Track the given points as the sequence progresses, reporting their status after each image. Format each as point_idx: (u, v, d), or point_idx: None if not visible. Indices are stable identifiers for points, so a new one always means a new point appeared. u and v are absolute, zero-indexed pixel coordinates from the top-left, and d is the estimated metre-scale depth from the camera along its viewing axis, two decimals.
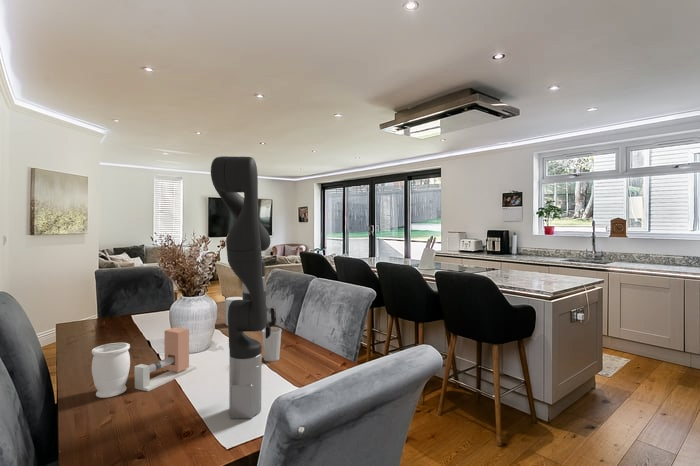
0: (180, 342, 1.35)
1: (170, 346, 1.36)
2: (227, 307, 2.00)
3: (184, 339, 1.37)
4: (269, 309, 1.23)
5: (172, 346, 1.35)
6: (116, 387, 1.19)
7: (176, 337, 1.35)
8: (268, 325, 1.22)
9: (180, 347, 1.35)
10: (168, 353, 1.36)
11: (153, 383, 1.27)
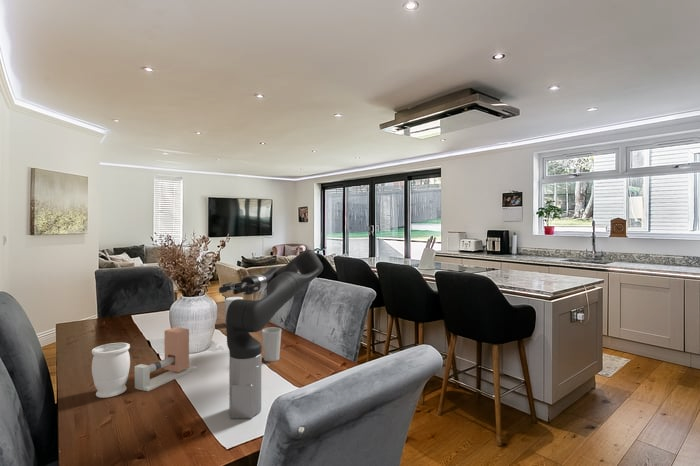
0: (180, 342, 1.35)
1: (170, 346, 1.36)
2: (227, 307, 2.00)
3: (184, 339, 1.37)
4: None
5: (172, 346, 1.35)
6: (116, 387, 1.19)
7: (176, 337, 1.35)
8: (243, 286, 1.43)
9: (180, 347, 1.35)
10: (168, 353, 1.36)
11: (153, 383, 1.27)
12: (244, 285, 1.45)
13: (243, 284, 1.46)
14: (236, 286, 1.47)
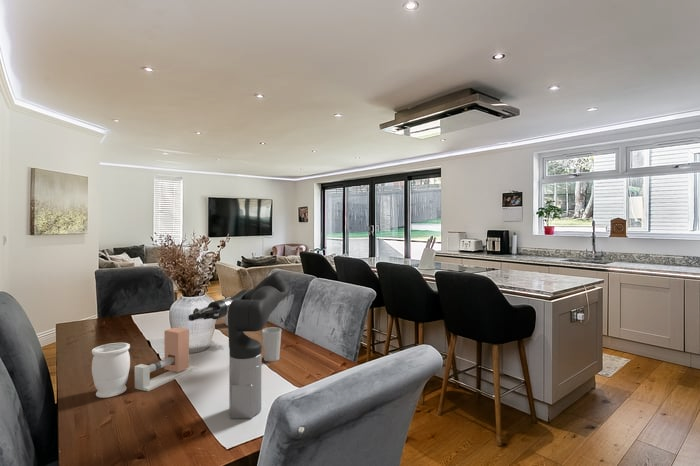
0: (180, 342, 1.35)
1: (170, 346, 1.36)
2: None
3: (184, 339, 1.37)
4: None
5: (172, 346, 1.35)
6: (116, 387, 1.19)
7: (176, 337, 1.35)
8: (200, 312, 1.47)
9: (180, 347, 1.35)
10: (168, 353, 1.36)
11: (153, 383, 1.27)
12: (204, 311, 1.49)
13: (204, 310, 1.49)
14: None
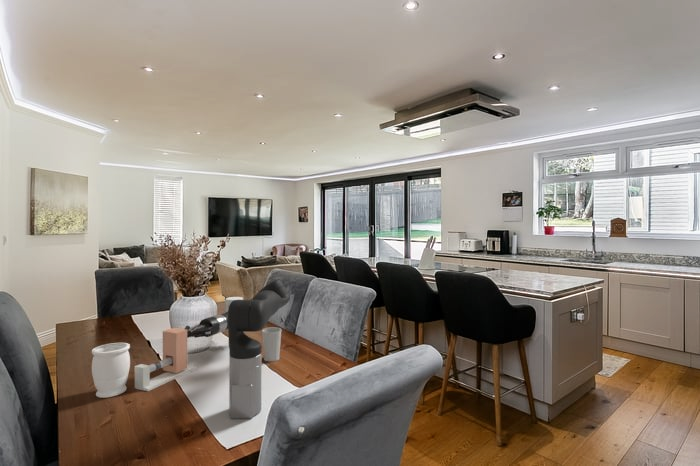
0: (178, 343, 1.35)
1: (169, 347, 1.35)
2: (227, 307, 2.00)
3: (182, 340, 1.36)
4: None
5: (170, 347, 1.35)
6: (116, 387, 1.19)
7: (175, 338, 1.34)
8: (191, 330, 1.43)
9: (178, 348, 1.35)
10: (166, 354, 1.36)
11: (153, 383, 1.27)
12: (195, 329, 1.45)
13: (195, 328, 1.45)
14: None
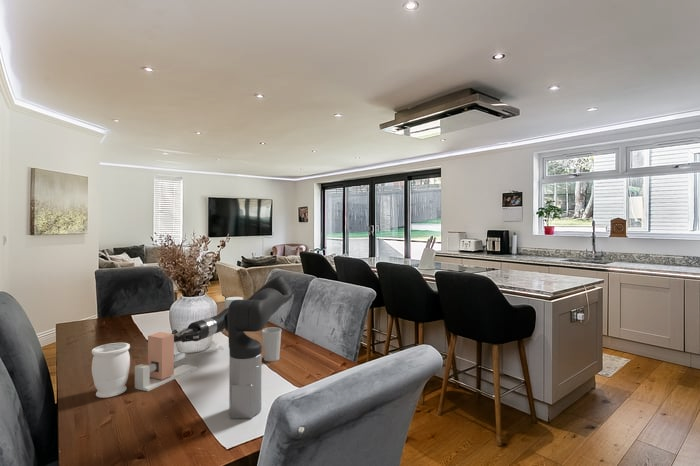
0: (164, 348, 1.29)
1: (154, 352, 1.29)
2: (227, 307, 2.00)
3: (168, 345, 1.31)
4: None
5: (156, 352, 1.29)
6: (116, 387, 1.19)
7: (160, 343, 1.28)
8: (179, 335, 1.38)
9: (164, 353, 1.29)
10: (152, 359, 1.30)
11: (153, 383, 1.27)
12: (183, 333, 1.39)
13: (183, 332, 1.40)
14: None
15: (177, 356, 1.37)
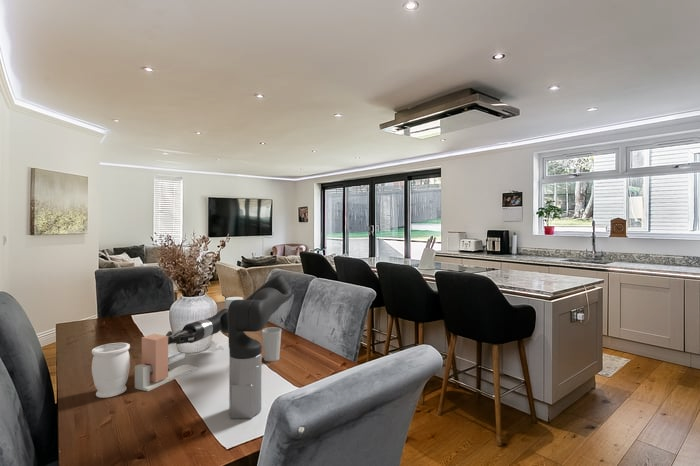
0: (158, 350, 1.27)
1: (148, 355, 1.27)
2: (227, 307, 2.00)
3: (163, 347, 1.28)
4: None
5: (150, 355, 1.27)
6: (116, 387, 1.19)
7: (154, 345, 1.26)
8: (173, 336, 1.35)
9: (158, 355, 1.27)
10: (145, 362, 1.28)
11: (153, 383, 1.27)
12: (177, 335, 1.37)
13: (178, 333, 1.37)
14: None
15: (177, 356, 1.37)
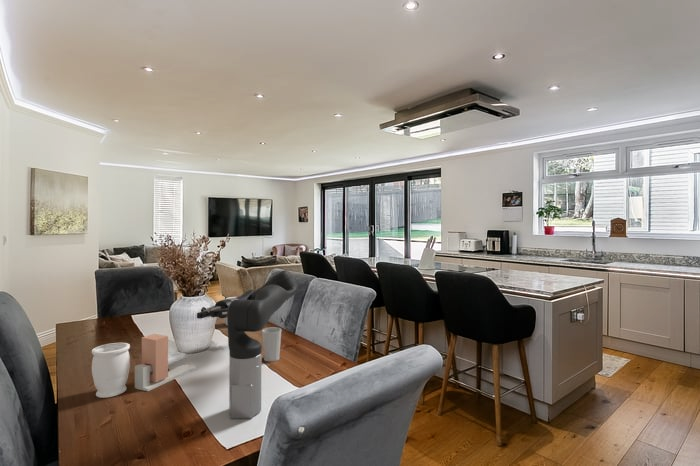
0: (158, 350, 1.27)
1: (148, 355, 1.27)
2: None
3: (163, 347, 1.28)
4: None
5: (150, 355, 1.27)
6: (116, 387, 1.19)
7: (154, 345, 1.26)
8: (209, 310, 1.46)
9: (158, 355, 1.27)
10: (145, 362, 1.28)
11: (153, 383, 1.27)
12: (212, 309, 1.47)
13: (212, 308, 1.48)
14: None
15: (177, 356, 1.37)
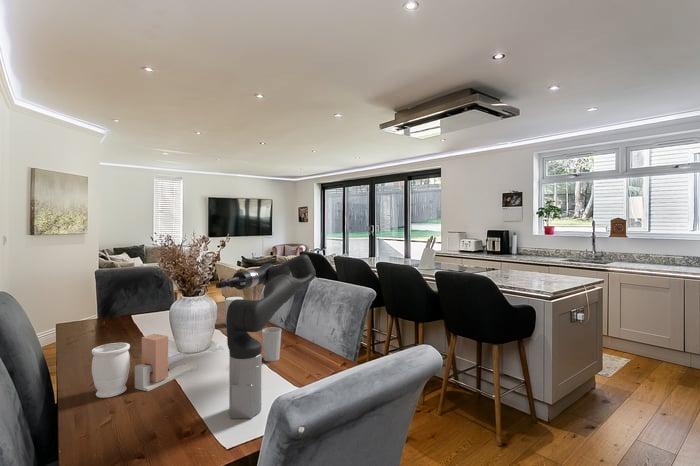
0: (158, 350, 1.27)
1: (148, 355, 1.27)
2: (227, 307, 2.00)
3: (163, 347, 1.28)
4: None
5: (150, 355, 1.27)
6: (116, 387, 1.19)
7: (154, 345, 1.26)
8: (227, 280, 1.46)
9: (158, 355, 1.27)
10: (145, 362, 1.28)
11: (153, 383, 1.27)
12: (230, 280, 1.47)
13: (230, 279, 1.48)
14: None
15: (177, 356, 1.37)
